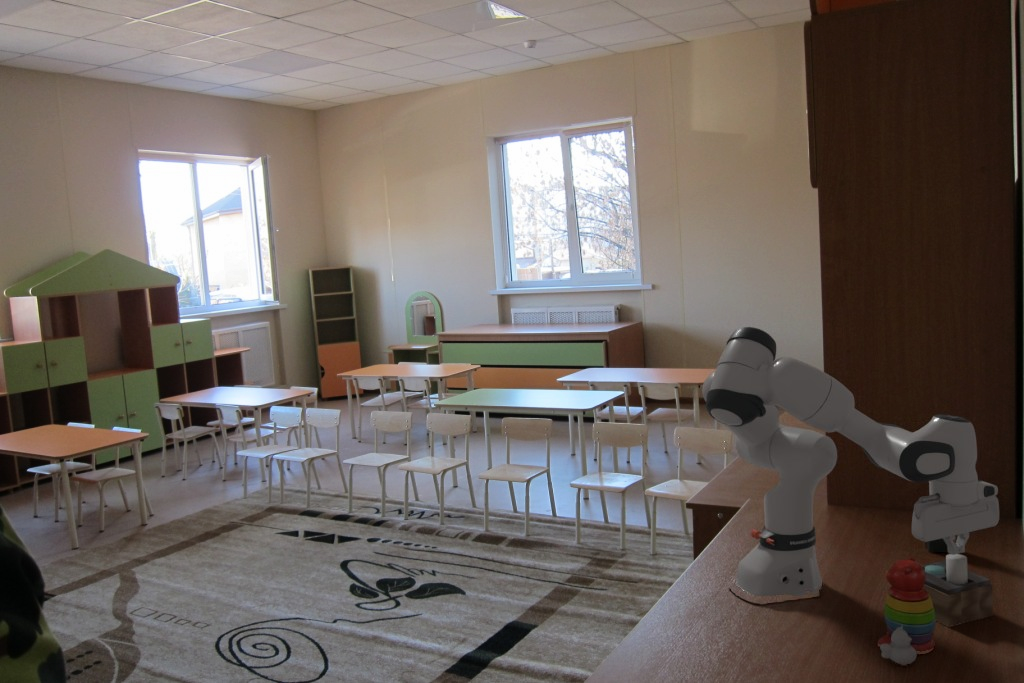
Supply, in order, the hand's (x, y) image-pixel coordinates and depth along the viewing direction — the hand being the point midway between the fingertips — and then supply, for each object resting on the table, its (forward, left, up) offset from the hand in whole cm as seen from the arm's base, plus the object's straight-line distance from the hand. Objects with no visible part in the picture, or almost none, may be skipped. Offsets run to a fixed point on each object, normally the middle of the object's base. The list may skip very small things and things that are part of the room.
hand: (956, 552), depth 183 cm
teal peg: (0, +6, -14) cm, 15 cm away
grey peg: (0, 0, -9) cm, 9 cm away
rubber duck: (-25, -10, -14) cm, 30 cm away
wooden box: (0, +3, -14) cm, 14 cm away
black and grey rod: (+24, +31, -14) cm, 41 cm away
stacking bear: (-18, -5, -14) cm, 24 cm away
